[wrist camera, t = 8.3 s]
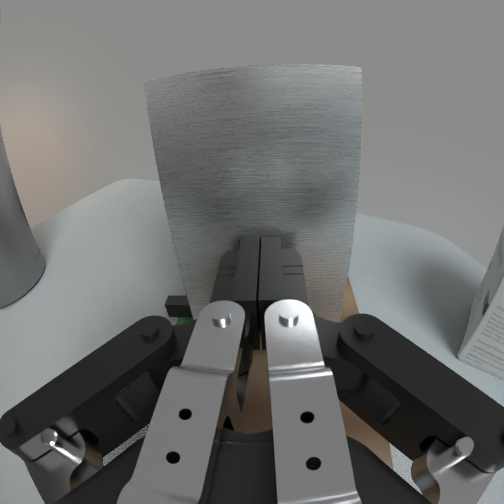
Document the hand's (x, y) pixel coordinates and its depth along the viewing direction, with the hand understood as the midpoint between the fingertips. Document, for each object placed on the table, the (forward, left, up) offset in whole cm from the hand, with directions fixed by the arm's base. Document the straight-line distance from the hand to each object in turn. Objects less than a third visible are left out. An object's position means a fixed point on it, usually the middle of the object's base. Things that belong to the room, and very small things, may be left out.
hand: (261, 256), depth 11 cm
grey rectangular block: (0, +3, -6) cm, 7 cm away
